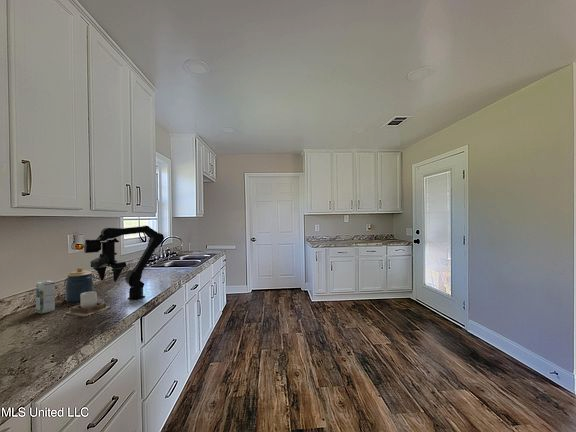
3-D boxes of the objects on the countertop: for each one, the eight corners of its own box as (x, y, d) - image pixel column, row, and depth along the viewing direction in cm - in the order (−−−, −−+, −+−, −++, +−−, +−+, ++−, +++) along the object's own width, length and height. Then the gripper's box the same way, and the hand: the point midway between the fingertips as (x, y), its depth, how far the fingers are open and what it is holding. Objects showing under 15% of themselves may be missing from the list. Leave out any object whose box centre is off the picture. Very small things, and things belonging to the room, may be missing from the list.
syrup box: (35, 312, 134) (35, 282, 134) (50, 308, 139) (50, 279, 140) (40, 314, 132) (40, 283, 132) (55, 310, 137) (55, 280, 137)
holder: (91, 305, 144) (91, 300, 144) (111, 307, 140) (110, 302, 140) (65, 313, 131) (65, 308, 131) (85, 316, 127) (85, 311, 127)
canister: (61, 303, 147) (61, 270, 148) (68, 297, 159) (68, 266, 159) (91, 300, 153) (91, 268, 153) (96, 294, 165) (95, 264, 165)
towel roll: (90, 306, 140) (90, 290, 140) (99, 308, 138) (99, 291, 138) (77, 311, 134) (77, 294, 134) (86, 312, 132) (86, 295, 132)
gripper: (80, 252, 142) (80, 283, 142) (107, 253, 136) (107, 285, 136) (100, 250, 153) (101, 278, 153) (127, 251, 147) (127, 280, 147)
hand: (108, 280), depth 147 cm, fingers open, 9 cm apart
